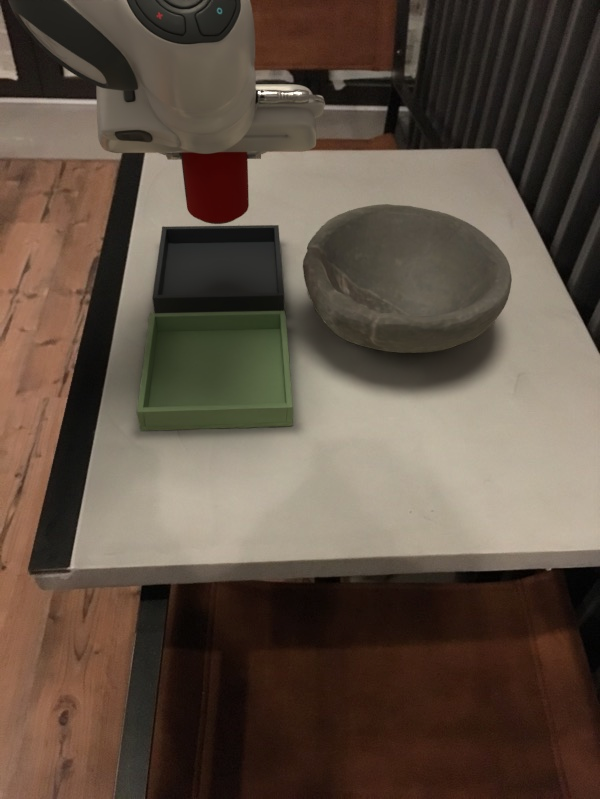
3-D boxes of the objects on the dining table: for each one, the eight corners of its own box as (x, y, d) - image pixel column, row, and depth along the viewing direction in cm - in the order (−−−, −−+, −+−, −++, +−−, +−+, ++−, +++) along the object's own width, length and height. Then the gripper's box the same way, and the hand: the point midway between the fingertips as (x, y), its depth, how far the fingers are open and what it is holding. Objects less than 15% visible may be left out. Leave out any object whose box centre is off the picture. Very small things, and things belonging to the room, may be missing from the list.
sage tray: (140, 431, 68) (136, 411, 66) (153, 332, 79) (150, 313, 77) (292, 426, 69) (292, 407, 67) (285, 329, 80) (285, 310, 78)
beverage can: (222, 190, 78) (215, 82, 70) (261, 213, 75) (259, 103, 66) (174, 211, 75) (161, 100, 66) (214, 236, 72) (205, 123, 63)
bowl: (494, 408, 72) (518, 335, 64) (284, 375, 74) (284, 301, 67) (495, 281, 87) (514, 211, 80) (321, 257, 90) (325, 187, 83)
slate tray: (155, 316, 81) (152, 297, 79) (164, 244, 91) (162, 226, 89) (283, 314, 82) (284, 295, 80) (278, 243, 92) (278, 224, 90)
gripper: (326, 56, 57) (313, 120, 71) (78, 56, 56) (114, 121, 70) (328, 131, 57) (315, 181, 71) (81, 133, 56) (116, 183, 70)
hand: (214, 151), depth 71 cm, fingers closed on beverage can, 7 cm apart
